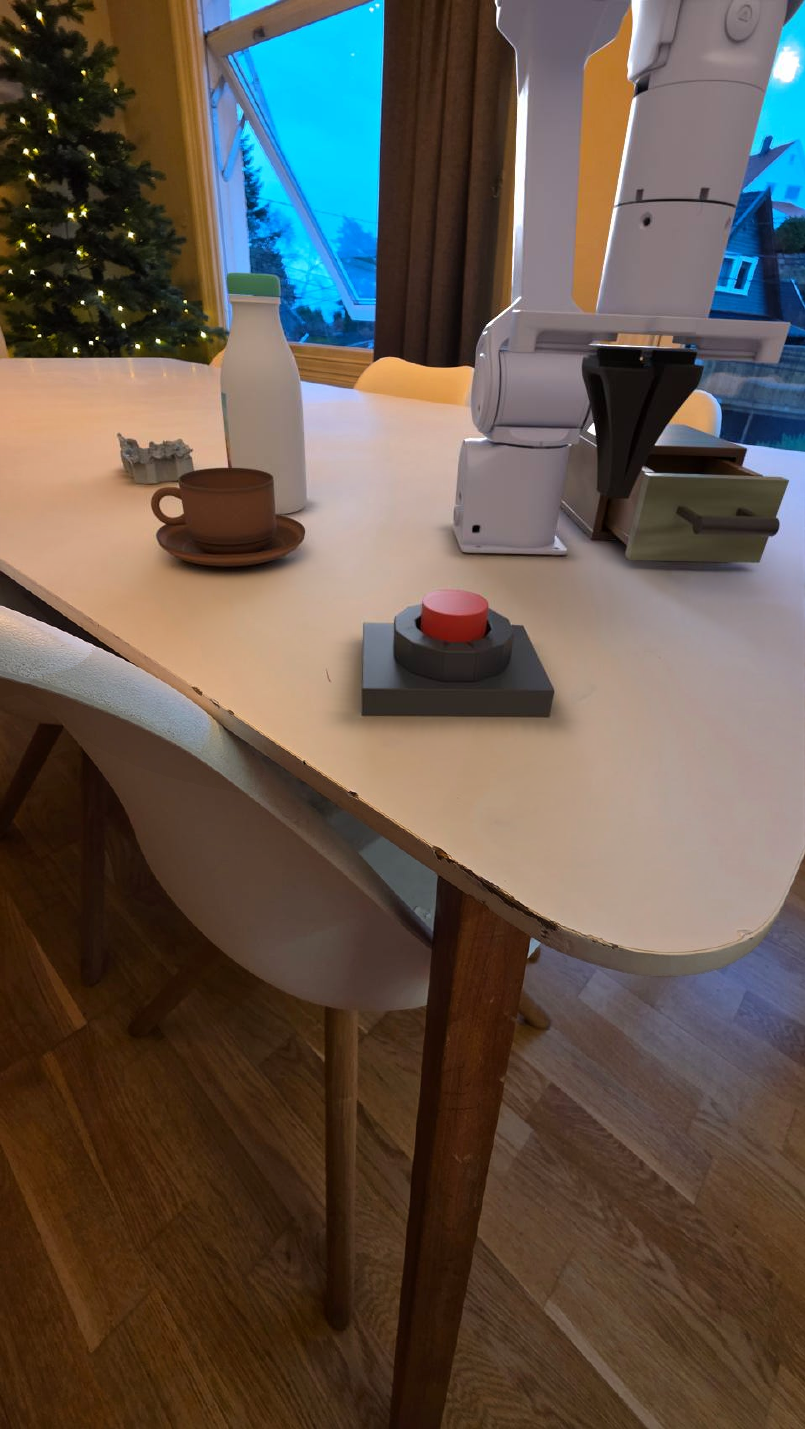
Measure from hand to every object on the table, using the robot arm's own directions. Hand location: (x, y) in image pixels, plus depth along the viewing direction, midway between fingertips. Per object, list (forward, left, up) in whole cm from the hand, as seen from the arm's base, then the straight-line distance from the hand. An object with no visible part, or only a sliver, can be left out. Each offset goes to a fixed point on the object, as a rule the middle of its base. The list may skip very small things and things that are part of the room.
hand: (612, 494), depth 38 cm
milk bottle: (-25, +29, -9) cm, 39 cm away
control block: (-10, -7, -9) cm, 15 cm away
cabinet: (+13, +27, -9) cm, 31 cm away
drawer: (+13, +15, -8) cm, 22 cm away
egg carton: (-40, +42, -9) cm, 59 cm away
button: (-10, -7, -6) cm, 14 cm away
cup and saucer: (-26, +14, -9) cm, 31 cm away
